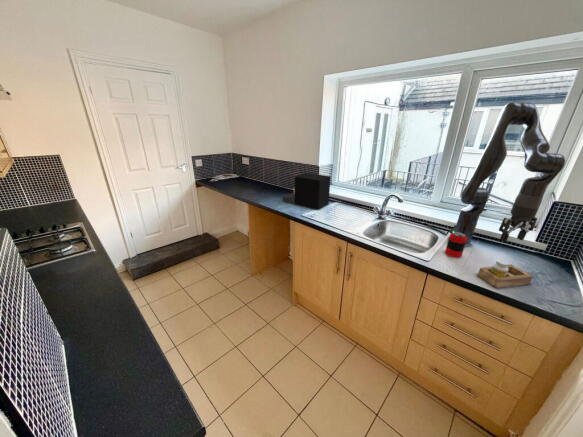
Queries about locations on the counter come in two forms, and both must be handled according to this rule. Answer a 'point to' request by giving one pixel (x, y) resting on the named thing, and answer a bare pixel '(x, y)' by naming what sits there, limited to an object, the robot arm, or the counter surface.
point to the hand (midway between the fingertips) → (511, 240)
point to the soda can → (456, 244)
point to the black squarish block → (310, 191)
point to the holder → (511, 279)
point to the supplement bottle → (500, 268)
